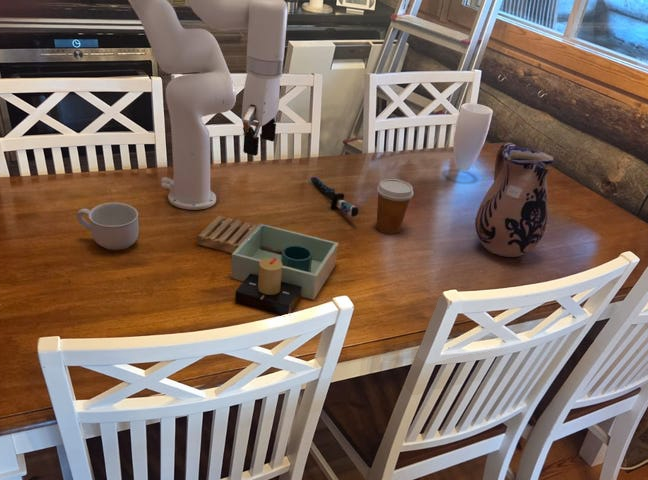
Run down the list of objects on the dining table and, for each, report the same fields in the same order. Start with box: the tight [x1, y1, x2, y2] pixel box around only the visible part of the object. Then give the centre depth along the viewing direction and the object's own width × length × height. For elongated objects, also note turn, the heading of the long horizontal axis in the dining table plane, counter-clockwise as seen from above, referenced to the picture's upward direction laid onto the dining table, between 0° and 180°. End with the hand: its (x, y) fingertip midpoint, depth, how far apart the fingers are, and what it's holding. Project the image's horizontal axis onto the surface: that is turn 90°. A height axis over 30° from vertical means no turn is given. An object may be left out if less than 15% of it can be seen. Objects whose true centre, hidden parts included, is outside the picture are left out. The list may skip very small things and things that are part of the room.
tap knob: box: [258, 258, 282, 295], centre depth 132 cm, size 5×5×6 cm
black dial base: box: [234, 273, 302, 316], centre depth 134 cm, size 12×9×3 cm
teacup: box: [76, 202, 140, 251], centre depth 145 cm, size 14×11×8 cm
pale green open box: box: [230, 223, 339, 300], centre depth 144 cm, size 20×17×6 cm
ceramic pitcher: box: [474, 142, 555, 258], centre depth 159 cm, size 18×21×25 cm
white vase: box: [452, 102, 494, 172], centre depth 196 cm, size 10×10×22 cm
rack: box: [197, 215, 259, 254], centre depth 153 cm, size 12×12×3 cm
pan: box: [260, 245, 312, 272], centre depth 144 cm, size 12×7×5 cm, turn 73°
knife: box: [310, 176, 359, 218], centre depth 176 cm, size 31×3×4 cm, turn 20°
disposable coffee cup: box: [376, 178, 415, 234], centre depth 165 cm, size 10×10×12 cm
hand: (259, 146), depth 140 cm, fingers open, 9 cm apart
